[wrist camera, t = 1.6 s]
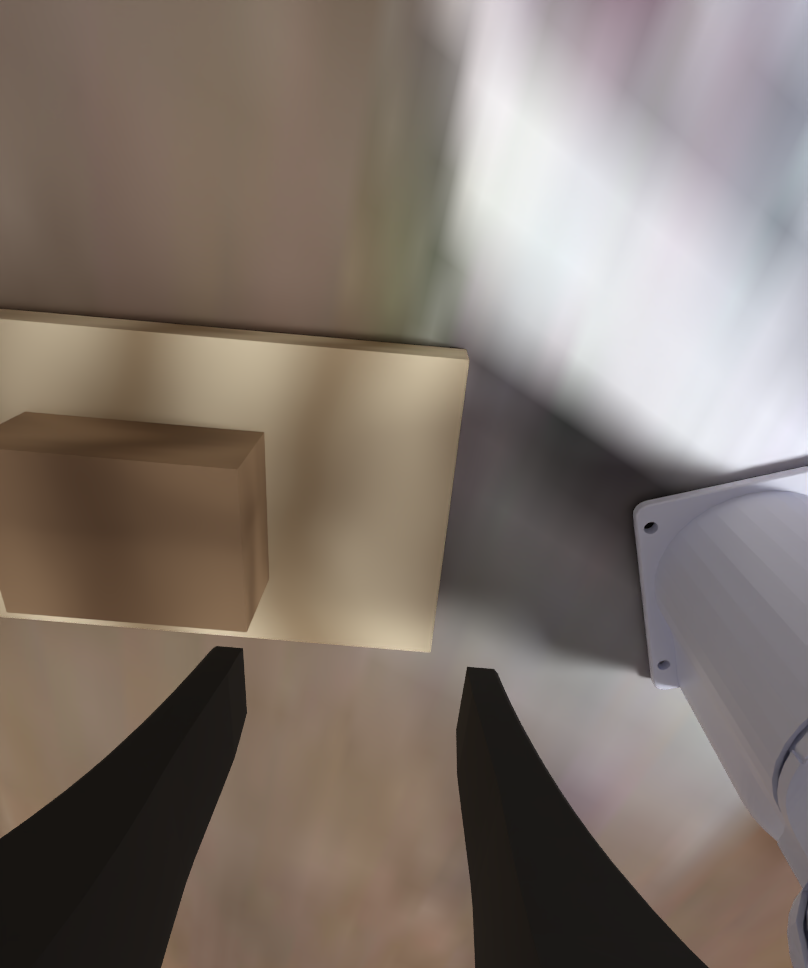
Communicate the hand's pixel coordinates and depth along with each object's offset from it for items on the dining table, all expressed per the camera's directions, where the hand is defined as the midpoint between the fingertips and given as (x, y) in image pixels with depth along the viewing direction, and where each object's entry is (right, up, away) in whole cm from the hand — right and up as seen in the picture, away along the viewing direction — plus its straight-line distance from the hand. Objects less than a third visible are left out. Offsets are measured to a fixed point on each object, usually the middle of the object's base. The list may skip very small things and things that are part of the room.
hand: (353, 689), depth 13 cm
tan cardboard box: (-8, +4, +7) cm, 11 cm away
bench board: (-8, +5, +8) cm, 13 cm away
